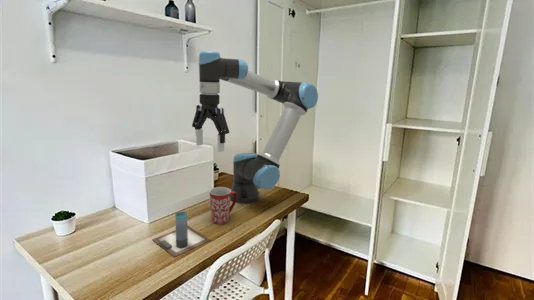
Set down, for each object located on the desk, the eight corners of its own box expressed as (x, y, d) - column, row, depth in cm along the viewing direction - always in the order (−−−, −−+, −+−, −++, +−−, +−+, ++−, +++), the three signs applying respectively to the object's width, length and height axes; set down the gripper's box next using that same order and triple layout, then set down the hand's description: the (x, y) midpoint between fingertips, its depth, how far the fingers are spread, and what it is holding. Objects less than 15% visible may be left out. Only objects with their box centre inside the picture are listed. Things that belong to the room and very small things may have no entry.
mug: (215, 227, 118) (215, 196, 115) (205, 218, 125) (205, 189, 122) (242, 219, 126) (242, 190, 123) (231, 212, 133) (231, 184, 130)
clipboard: (187, 226, 118) (187, 223, 118) (210, 240, 109) (210, 237, 109) (152, 240, 107) (152, 236, 107) (174, 257, 98) (174, 253, 98)
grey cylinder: (183, 240, 107) (183, 210, 104) (190, 245, 104) (189, 214, 102) (173, 245, 104) (172, 213, 101) (180, 249, 101) (179, 217, 99)
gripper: (182, 91, 117) (183, 143, 122) (223, 96, 101) (222, 155, 106) (198, 91, 122) (198, 141, 127) (239, 95, 106) (238, 152, 111)
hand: (209, 148), depth 116 cm, fingers open, 13 cm apart
